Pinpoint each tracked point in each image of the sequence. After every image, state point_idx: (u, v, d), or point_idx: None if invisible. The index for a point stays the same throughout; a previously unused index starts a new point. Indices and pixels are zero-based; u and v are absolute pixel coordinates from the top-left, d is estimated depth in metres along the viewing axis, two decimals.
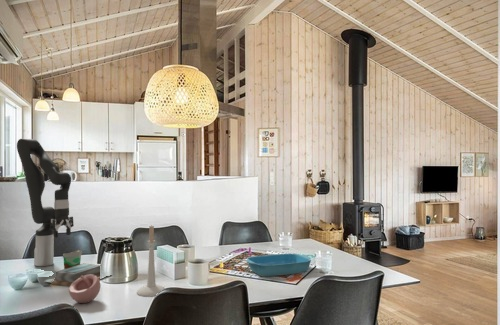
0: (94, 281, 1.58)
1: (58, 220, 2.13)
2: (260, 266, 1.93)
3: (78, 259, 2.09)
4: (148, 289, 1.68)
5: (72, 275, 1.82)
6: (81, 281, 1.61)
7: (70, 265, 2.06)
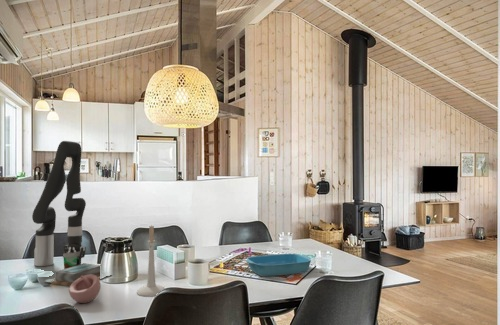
0: (94, 281, 1.58)
1: None
2: (260, 266, 1.93)
3: None
4: (148, 289, 1.68)
5: (72, 275, 1.82)
6: (81, 281, 1.61)
7: (70, 265, 2.06)
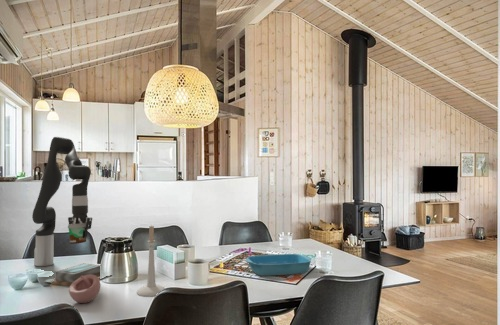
0: (94, 281, 1.58)
1: None
2: (257, 265, 1.94)
3: None
4: (148, 289, 1.68)
5: (72, 275, 1.82)
6: (81, 281, 1.61)
7: (76, 237, 1.91)
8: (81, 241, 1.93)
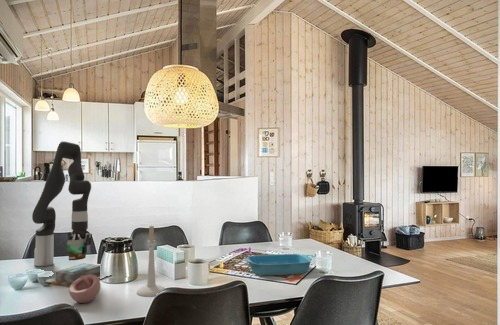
0: (94, 281, 1.58)
1: None
2: (256, 265, 1.95)
3: None
4: (148, 289, 1.68)
5: (72, 275, 1.82)
6: (81, 281, 1.61)
7: (75, 253, 1.88)
8: (80, 257, 1.89)
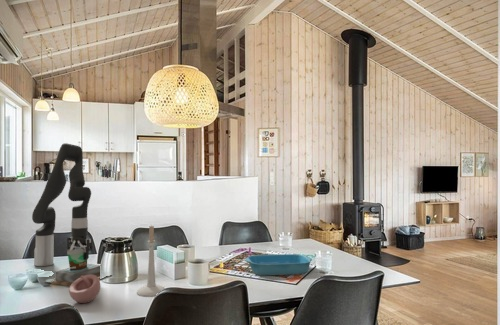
0: (94, 281, 1.58)
1: None
2: (255, 264, 1.96)
3: None
4: (148, 289, 1.68)
5: (72, 275, 1.82)
6: (81, 281, 1.61)
7: (76, 263, 1.87)
8: (81, 267, 1.89)
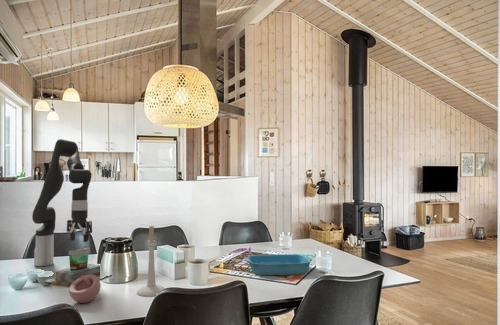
0: (94, 281, 1.58)
1: None
2: (254, 264, 1.96)
3: (85, 257, 1.90)
4: (148, 289, 1.68)
5: (72, 275, 1.82)
6: (81, 281, 1.61)
7: (76, 263, 1.87)
8: (81, 268, 1.89)
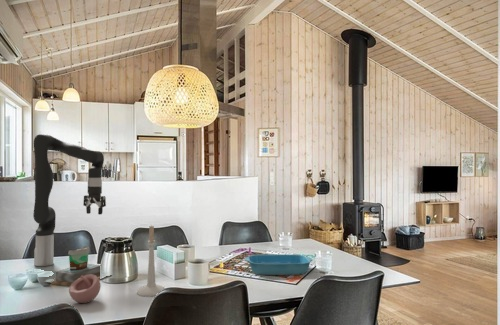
0: (94, 281, 1.58)
1: None
2: (253, 264, 1.97)
3: (85, 257, 1.90)
4: (148, 289, 1.68)
5: (72, 275, 1.82)
6: (81, 281, 1.61)
7: (76, 263, 1.87)
8: (81, 268, 1.89)
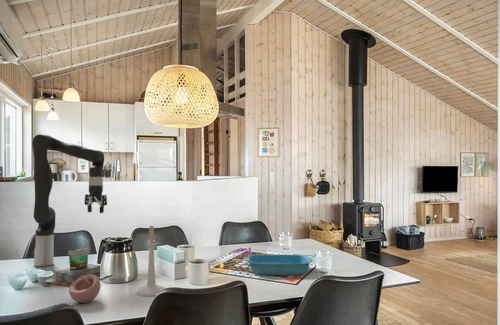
0: (94, 281, 1.58)
1: None
2: (252, 263, 1.98)
3: (85, 257, 1.90)
4: (148, 289, 1.68)
5: (72, 275, 1.82)
6: (81, 281, 1.61)
7: (76, 263, 1.87)
8: (81, 268, 1.89)
